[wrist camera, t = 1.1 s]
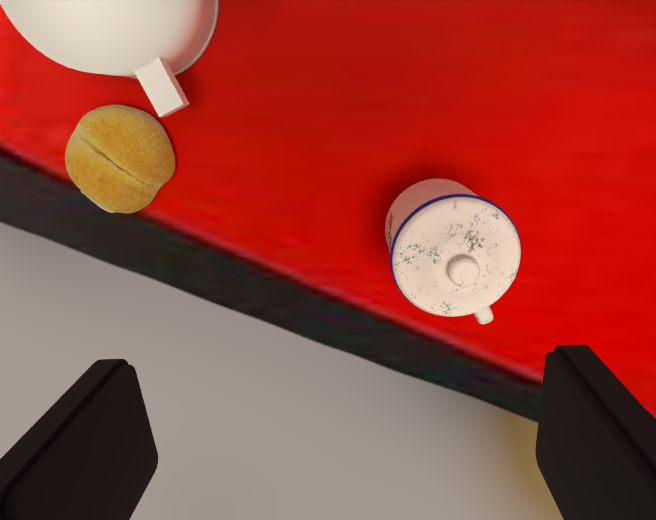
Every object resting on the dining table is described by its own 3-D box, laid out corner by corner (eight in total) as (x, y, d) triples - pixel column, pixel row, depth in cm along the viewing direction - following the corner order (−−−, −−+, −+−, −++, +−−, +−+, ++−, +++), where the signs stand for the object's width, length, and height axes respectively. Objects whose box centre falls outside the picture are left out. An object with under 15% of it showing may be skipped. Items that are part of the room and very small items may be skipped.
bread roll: (195, 149, 39) (178, 154, 35) (137, 222, 41) (116, 235, 37) (116, 79, 37) (89, 77, 33) (60, 160, 39) (30, 166, 36)
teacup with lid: (363, 208, 39) (368, 249, 28) (458, 154, 37) (503, 176, 26) (425, 315, 43) (451, 389, 32) (515, 270, 41) (576, 333, 30)
